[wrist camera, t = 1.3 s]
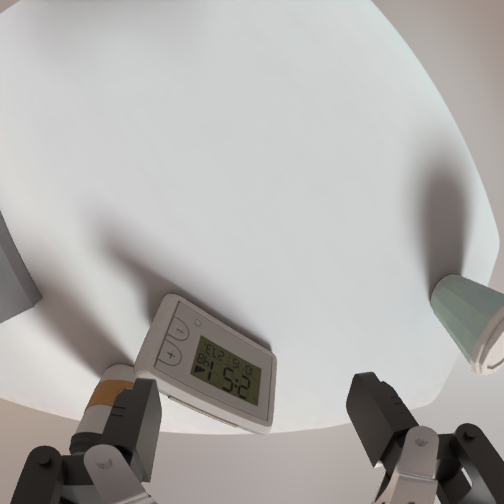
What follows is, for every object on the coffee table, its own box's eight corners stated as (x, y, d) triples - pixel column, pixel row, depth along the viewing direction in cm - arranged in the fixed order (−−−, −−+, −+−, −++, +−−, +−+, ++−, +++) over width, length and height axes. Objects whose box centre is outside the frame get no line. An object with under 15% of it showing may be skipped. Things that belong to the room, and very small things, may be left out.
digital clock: (281, 357, 37) (302, 418, 27) (228, 392, 38) (235, 454, 28) (191, 269, 31) (184, 323, 21) (136, 316, 32) (114, 377, 22)
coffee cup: (168, 385, 36) (159, 480, 22) (130, 407, 37) (113, 492, 23) (122, 346, 33) (91, 440, 19) (86, 372, 34) (53, 456, 20)
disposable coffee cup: (466, 305, 39) (525, 352, 25) (418, 336, 39) (475, 397, 25) (466, 249, 36) (540, 290, 22) (413, 280, 36) (488, 338, 22)
